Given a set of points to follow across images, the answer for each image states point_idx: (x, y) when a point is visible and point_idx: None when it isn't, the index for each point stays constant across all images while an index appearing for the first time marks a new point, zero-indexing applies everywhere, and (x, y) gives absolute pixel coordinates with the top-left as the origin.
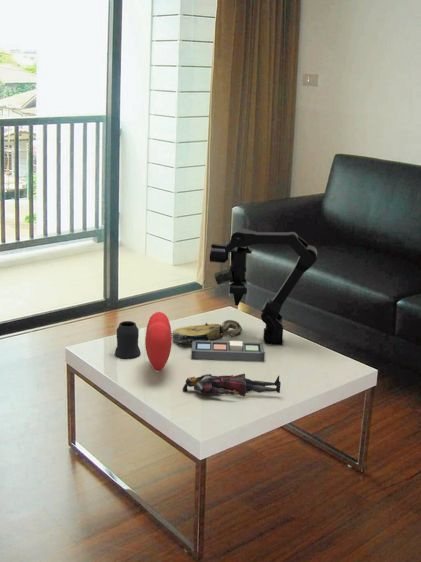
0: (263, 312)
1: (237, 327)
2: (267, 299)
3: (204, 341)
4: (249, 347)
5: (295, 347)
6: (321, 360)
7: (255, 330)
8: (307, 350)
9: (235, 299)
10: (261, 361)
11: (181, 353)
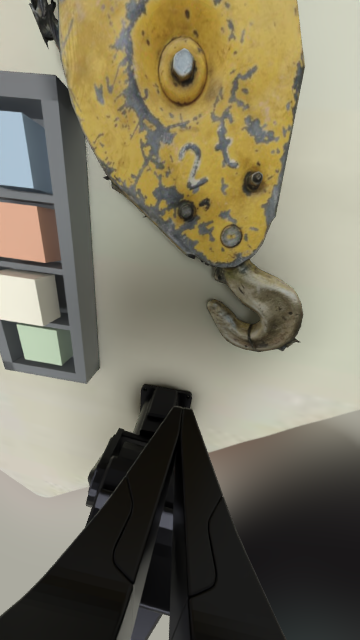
0: (98, 490)
1: (241, 336)
2: (149, 598)
3: (54, 157)
4: (40, 339)
5: None
6: (65, 455)
7: (261, 384)
8: None
9: (139, 461)
10: None
11: (10, 30)
